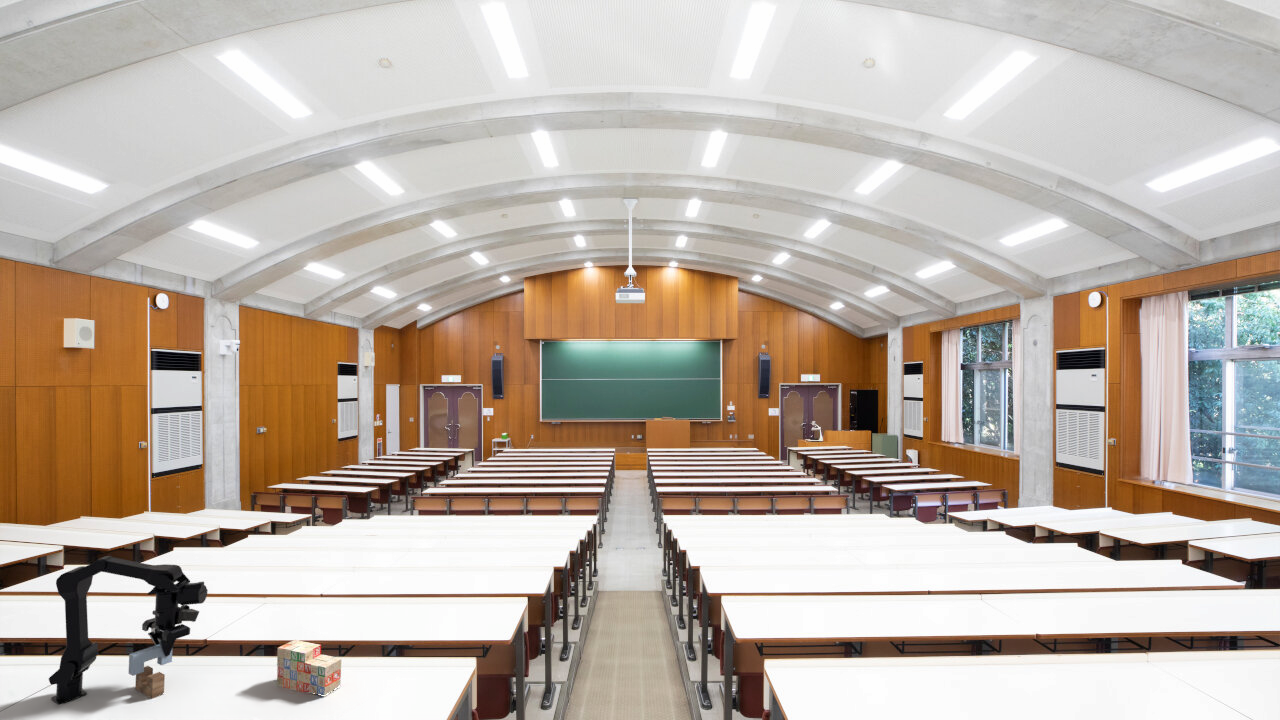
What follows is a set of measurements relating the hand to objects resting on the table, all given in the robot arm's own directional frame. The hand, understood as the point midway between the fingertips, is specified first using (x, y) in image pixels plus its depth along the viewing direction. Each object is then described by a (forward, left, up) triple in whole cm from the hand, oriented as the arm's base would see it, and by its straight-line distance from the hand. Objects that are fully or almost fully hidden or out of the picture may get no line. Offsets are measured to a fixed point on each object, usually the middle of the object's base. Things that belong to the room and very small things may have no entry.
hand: (164, 654), depth 179 cm
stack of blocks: (+42, +22, -10) cm, 49 cm away
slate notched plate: (0, -4, -2) cm, 4 cm away
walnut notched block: (0, -4, -10) cm, 11 cm away
